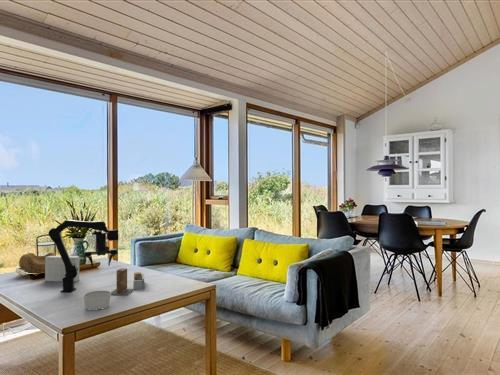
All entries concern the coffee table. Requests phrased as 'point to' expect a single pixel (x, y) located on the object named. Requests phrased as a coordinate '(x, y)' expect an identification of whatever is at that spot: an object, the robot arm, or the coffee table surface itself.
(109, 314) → the coffee table surface
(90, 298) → the ramekin
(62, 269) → the skincare box
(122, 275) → the brown wooden block
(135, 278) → the upper oak offcut
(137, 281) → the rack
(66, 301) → the coffee table surface
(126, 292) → the charcoal mat
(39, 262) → the rough brown rock
